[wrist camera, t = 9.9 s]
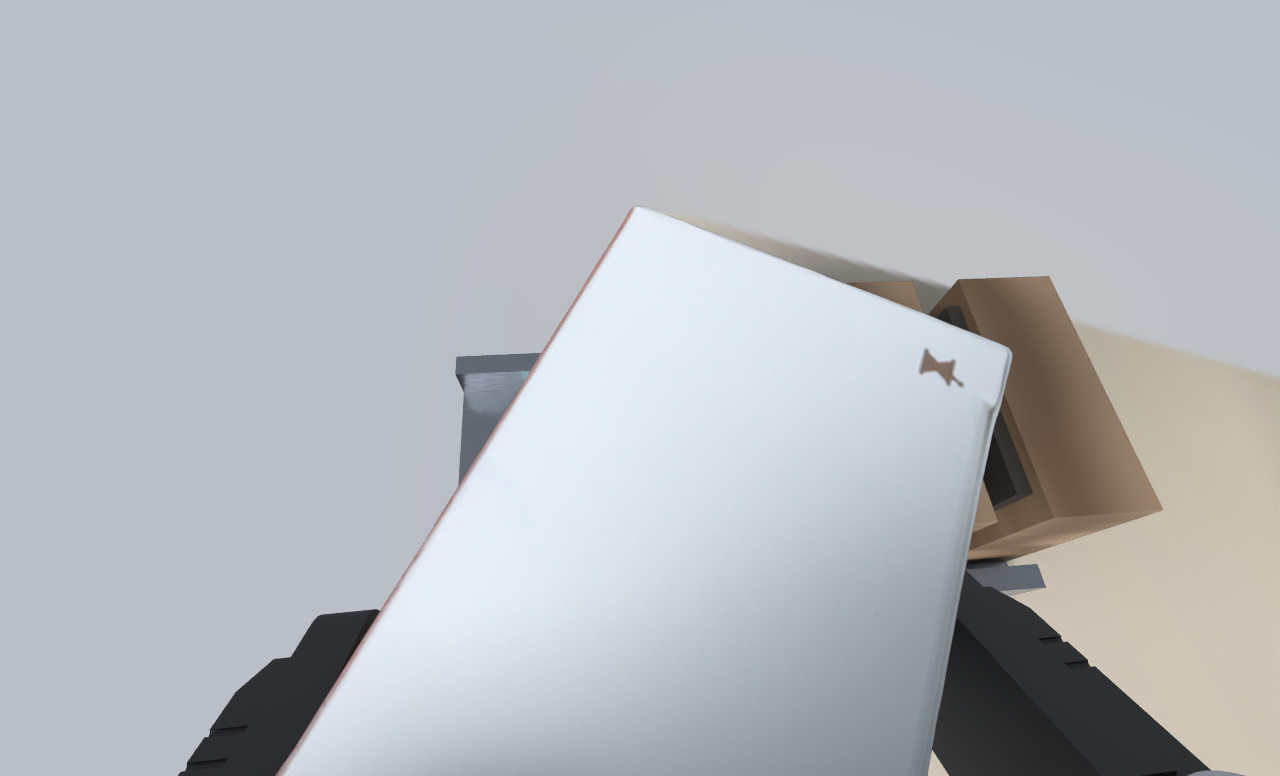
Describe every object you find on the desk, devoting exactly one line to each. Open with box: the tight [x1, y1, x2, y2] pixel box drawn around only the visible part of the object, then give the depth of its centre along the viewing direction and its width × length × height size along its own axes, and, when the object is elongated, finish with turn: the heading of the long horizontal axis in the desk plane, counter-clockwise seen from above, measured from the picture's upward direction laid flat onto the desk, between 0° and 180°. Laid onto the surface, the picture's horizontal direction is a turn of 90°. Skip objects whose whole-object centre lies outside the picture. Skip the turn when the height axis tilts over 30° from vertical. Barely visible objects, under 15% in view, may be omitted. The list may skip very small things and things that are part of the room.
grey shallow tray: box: [456, 353, 1046, 596], centre depth 29 cm, size 26×13×4 cm, turn 95°
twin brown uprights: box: [846, 276, 1163, 564], centre depth 26 cm, size 11×10×9 cm
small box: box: [276, 206, 1012, 776], centre depth 11 cm, size 8×6×10 cm
